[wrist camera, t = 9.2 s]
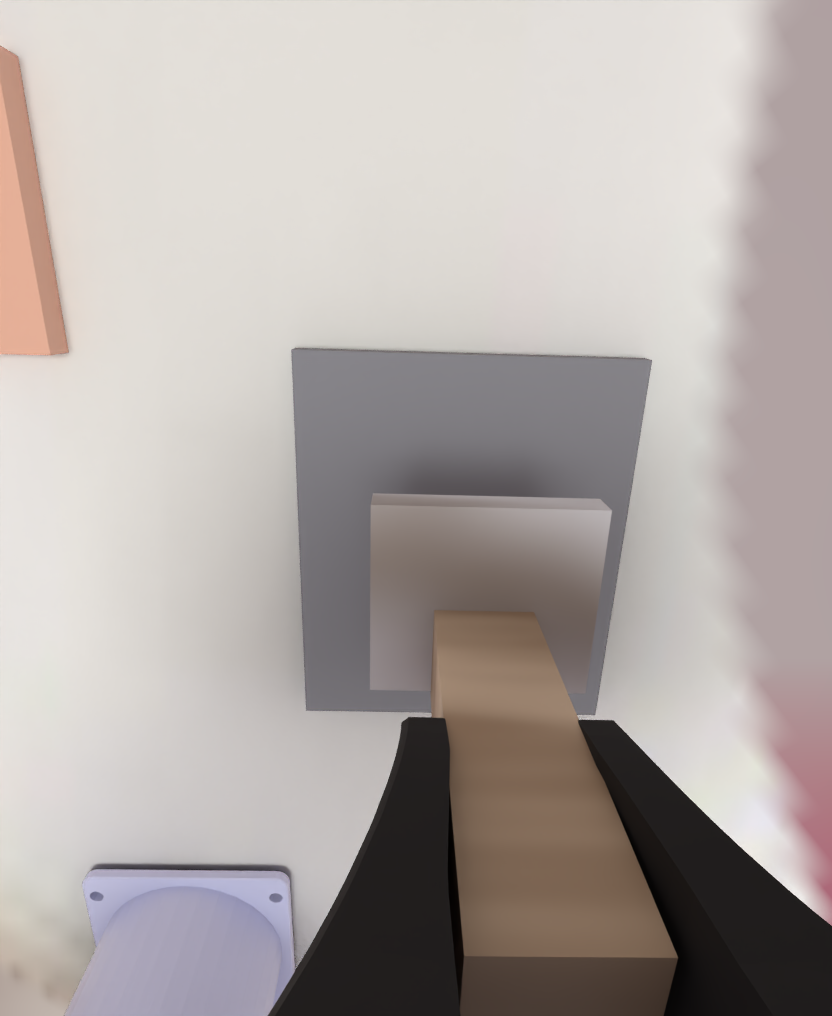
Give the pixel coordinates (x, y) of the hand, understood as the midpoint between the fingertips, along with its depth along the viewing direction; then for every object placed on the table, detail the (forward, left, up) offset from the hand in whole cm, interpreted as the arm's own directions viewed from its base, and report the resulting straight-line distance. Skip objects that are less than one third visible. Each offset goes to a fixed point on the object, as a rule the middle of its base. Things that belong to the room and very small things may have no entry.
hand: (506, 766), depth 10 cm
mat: (0, 0, -9) cm, 9 cm away
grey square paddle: (+1, 0, -4) cm, 4 cm away
